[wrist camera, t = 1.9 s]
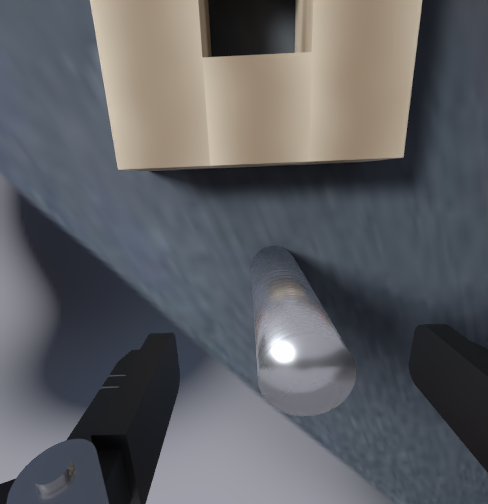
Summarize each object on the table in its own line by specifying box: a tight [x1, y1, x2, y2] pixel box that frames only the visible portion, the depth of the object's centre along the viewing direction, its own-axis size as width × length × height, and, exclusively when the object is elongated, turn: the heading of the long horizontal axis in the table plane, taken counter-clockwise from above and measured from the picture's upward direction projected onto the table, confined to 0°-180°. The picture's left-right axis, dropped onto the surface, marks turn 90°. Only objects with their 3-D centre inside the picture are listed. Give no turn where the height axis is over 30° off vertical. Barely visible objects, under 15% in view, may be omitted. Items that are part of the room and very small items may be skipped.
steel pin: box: [251, 246, 356, 416], centre depth 13 cm, size 3×3×10 cm
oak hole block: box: [90, 0, 422, 171], centre depth 12 cm, size 13×13×4 cm
